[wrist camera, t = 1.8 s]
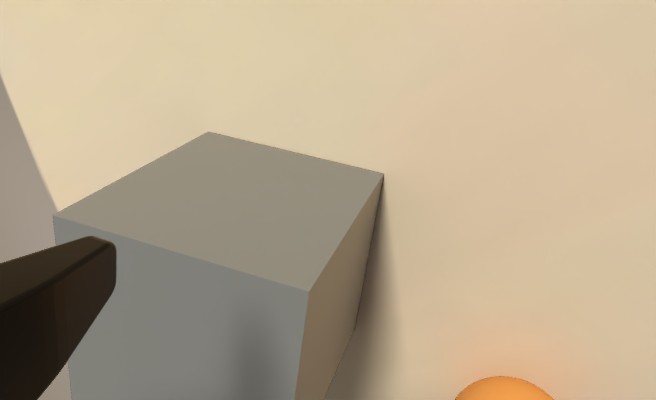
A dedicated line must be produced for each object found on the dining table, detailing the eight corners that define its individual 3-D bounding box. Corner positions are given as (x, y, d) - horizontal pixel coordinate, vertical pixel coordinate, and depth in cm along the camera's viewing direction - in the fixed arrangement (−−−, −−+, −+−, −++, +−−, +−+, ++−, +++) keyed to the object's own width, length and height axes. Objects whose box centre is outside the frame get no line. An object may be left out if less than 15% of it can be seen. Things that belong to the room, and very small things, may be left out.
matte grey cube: (354, 329, 24) (281, 495, 17) (202, 282, 26) (73, 413, 18) (383, 173, 21) (309, 291, 13) (208, 131, 23) (52, 215, 15)
